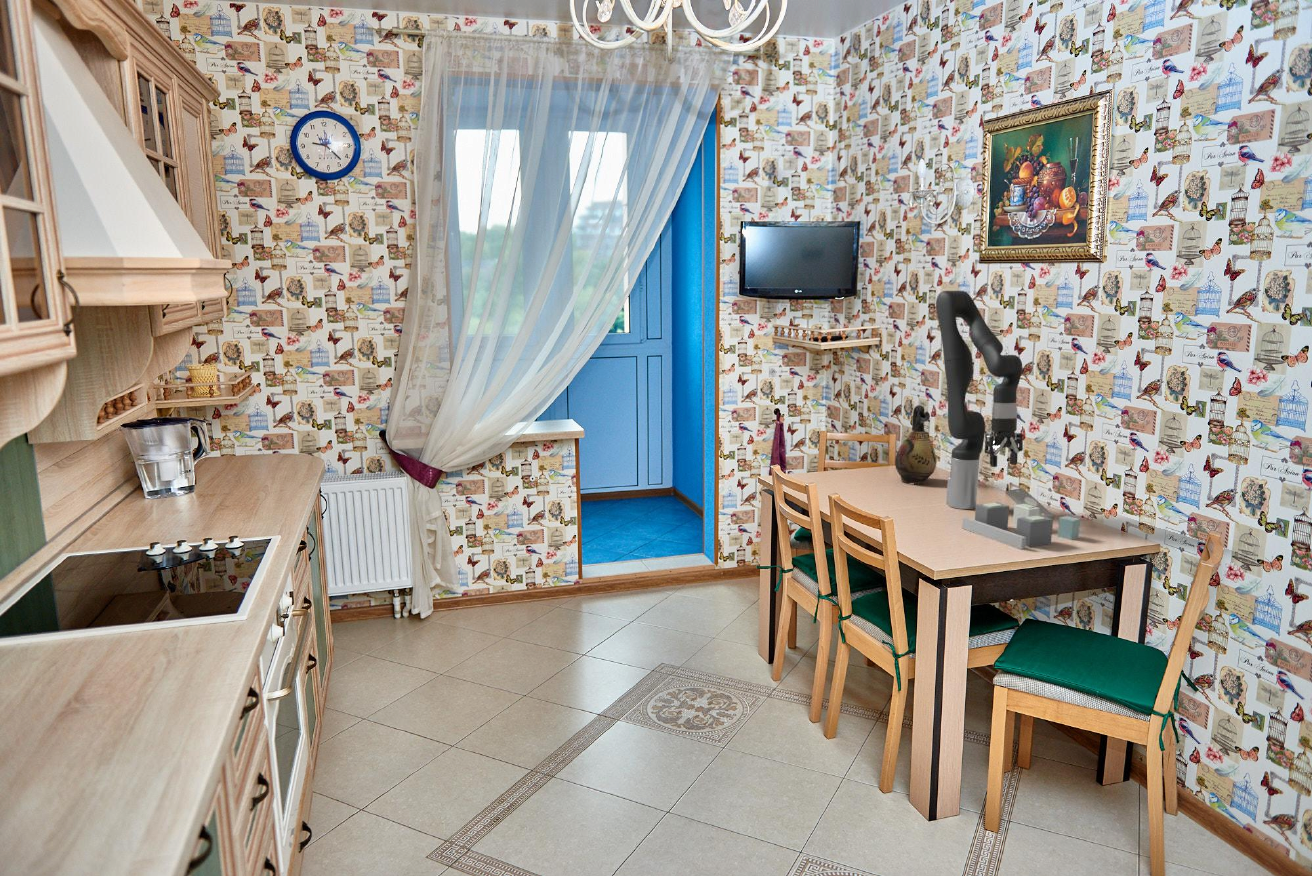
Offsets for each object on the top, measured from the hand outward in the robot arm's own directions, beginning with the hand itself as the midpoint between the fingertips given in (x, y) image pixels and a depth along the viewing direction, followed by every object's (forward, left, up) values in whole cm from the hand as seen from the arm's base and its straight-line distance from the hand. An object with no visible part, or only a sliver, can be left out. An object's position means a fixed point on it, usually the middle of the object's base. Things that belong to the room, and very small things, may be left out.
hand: (1003, 465), depth 289 cm
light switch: (+1, +12, -18) cm, 22 cm away
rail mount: (+17, -14, -18) cm, 28 cm away
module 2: (+25, +3, -18) cm, 31 cm away
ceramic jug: (-55, +11, -18) cm, 59 cm away
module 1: (+12, -1, -18) cm, 21 cm away
